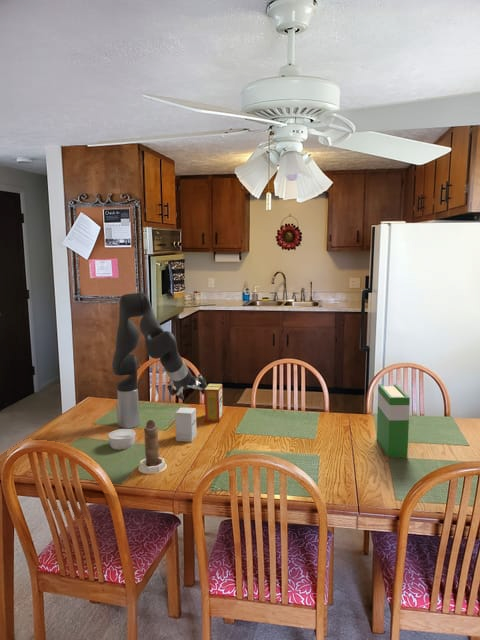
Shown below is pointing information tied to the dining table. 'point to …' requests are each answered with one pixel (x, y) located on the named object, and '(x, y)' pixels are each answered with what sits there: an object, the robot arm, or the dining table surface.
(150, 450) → the pepper mill
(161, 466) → the ring coaster
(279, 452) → the dining table surface
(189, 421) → the supplement box
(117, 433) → the ramekin
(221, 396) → the baking soda box
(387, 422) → the hardback book
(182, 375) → the robot arm
